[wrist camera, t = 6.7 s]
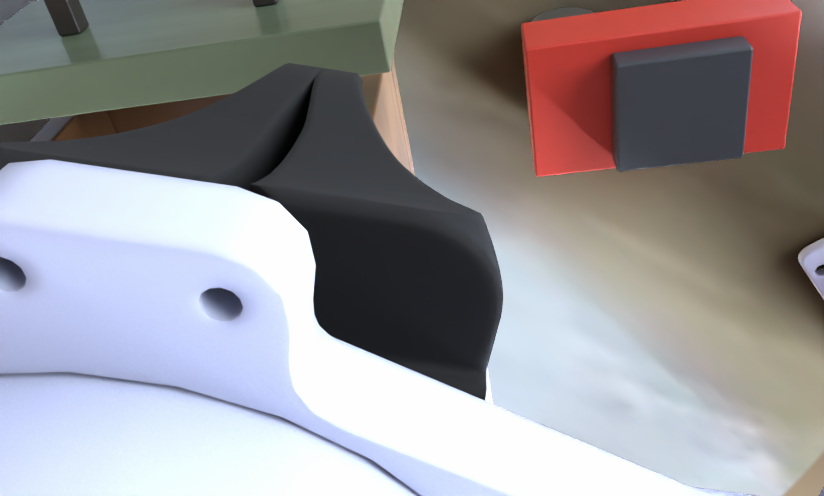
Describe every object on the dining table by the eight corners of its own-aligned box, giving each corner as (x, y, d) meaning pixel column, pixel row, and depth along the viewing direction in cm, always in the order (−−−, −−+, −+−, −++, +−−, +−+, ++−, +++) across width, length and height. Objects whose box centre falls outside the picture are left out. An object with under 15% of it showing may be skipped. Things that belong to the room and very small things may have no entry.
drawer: (-55, -189, 20) (-222, -148, 15) (363, -272, 18) (327, -256, 13) (171, 312, 29) (114, 436, 25) (456, 285, 28) (455, 411, 23)
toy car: (767, -24, 22) (816, 23, 19) (754, 104, 24) (796, 165, 21) (518, 11, 23) (527, 62, 20) (528, 131, 25) (538, 194, 22)
